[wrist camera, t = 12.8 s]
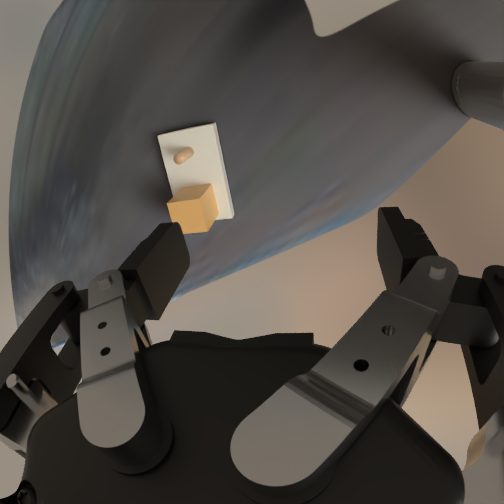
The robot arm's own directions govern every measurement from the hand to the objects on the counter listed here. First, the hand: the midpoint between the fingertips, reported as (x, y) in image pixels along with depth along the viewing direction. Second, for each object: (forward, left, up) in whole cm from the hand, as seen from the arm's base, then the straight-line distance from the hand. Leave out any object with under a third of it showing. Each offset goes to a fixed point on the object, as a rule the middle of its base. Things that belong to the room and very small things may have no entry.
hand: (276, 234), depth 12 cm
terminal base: (+16, +6, -33) cm, 37 cm away
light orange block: (+16, +10, -32) cm, 37 cm away
